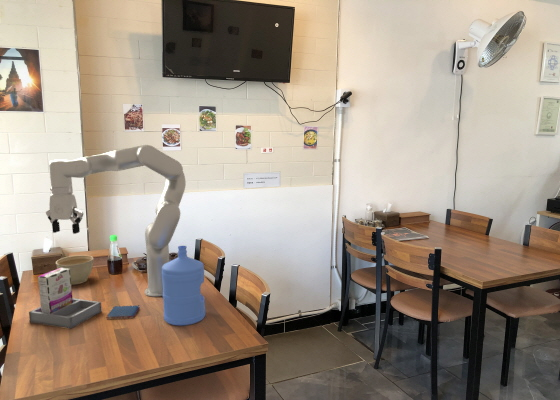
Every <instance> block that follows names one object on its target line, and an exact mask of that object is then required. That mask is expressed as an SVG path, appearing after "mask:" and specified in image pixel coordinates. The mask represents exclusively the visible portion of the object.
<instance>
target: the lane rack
mask: <svg viewBox="0 0 560 400" xmlns="http://www.w3.org/2000/svg"><path fill="white" fill-rule="evenodd" d="M72 299H73V303H72V304H70V305H67V306H65V307H63V308H61V309H59V310H57V311H55V312H53V313H51V314H48V313H42V312H41V306H39V307H37V308H35V309H32V310H30V311H28V314H29V317H28V318H29V323H33V324H38V325H45V326H51V327H56V328H57V327H58V328H63V329H69V330H72V329H73V328H75V327H78V325H80V324H82V323H84V322H86V321H87V320H89V319H91V318H93V317H94V316H97V315H98V314H100V313H102V303H101V301H96V300H95V301H94V300H87V299H82V298H80V299H79V298H74V297H72Z"/></svg>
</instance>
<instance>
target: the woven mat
mask: <svg viewBox="0 0 560 400" xmlns="http://www.w3.org/2000/svg"><path fill="white" fill-rule="evenodd" d="M139 310H140V305H139V304H138V305H135V304H134V305H119V306H118V305H115V306H113V307H112V309H111V310H110V311H109V313H108V314H107V315H106V316H105V318H106V320H107V321H108V320H124V319H126V320H129V319H134V318H135V317H136V314H137V313H138V311H139Z"/></svg>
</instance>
